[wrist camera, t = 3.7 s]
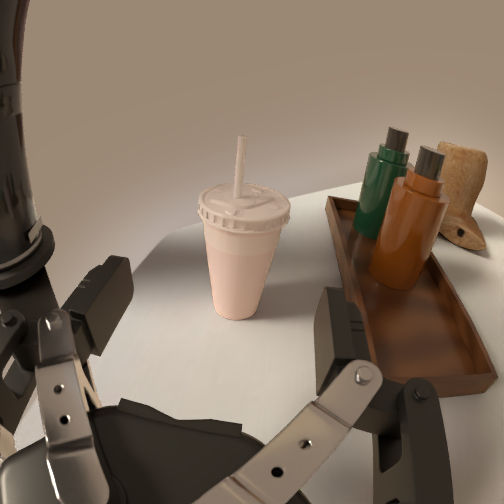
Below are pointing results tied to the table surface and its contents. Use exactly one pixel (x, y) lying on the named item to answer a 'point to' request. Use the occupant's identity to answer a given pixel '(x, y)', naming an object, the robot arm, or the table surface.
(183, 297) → the table surface
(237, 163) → the smoothie
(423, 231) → the amber bottle
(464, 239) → the stone cup
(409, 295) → the tray
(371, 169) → the green bottle
